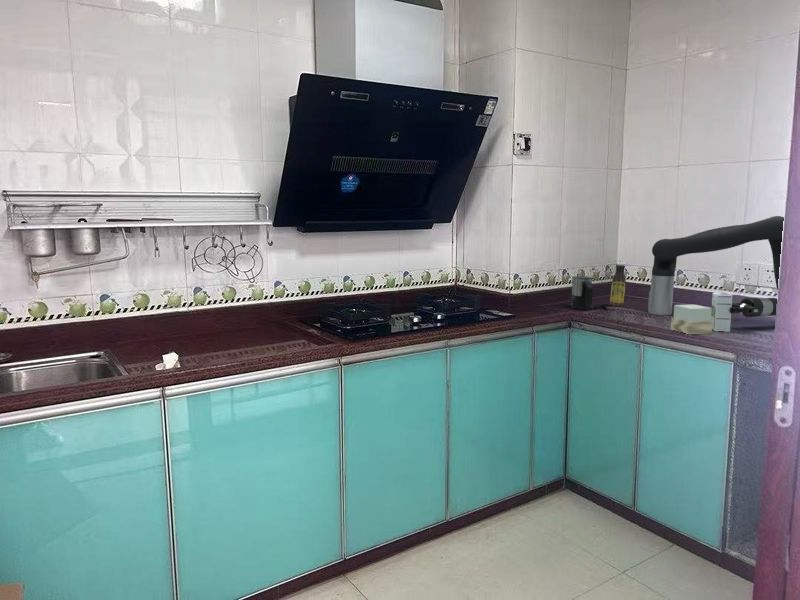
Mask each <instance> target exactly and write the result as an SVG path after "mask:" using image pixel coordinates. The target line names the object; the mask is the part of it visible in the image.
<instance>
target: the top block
mask: <svg viewBox="0 0 800 600" xmlns="http://www.w3.org/2000/svg"><path fill="white" fill-rule="evenodd" d="M711 309H712V307H708V306H703V305H699V304H674V306H673V318H676V319H680V320H683V321H687V322H707V321H711Z"/></svg>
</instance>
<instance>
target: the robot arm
mask: <svg viewBox="0 0 800 600" xmlns="http://www.w3.org/2000/svg"><path fill="white" fill-rule="evenodd" d="M784 218H785V217H784V216H780V215H775V216H770V217H767V218H765V219H761V220H758V221H755V222H750V223H747V224H745V223H743V224H736V225H735V224H734V225H729V226H722V227H716V228H713V229H712V228H711V229H707V230H704V231H700V232H698V233H694V234H691V235H688V236H684V237H677V238H663V239H659V240H657V241H656V242H655V243H654V244H653V246H652V248H651V253H652V255H653V257H654V258H653V266H652V268H651V269H652V270H651V277H650V278H651V279H650V280H651V282H650V283H651V284H650V291H648V301H647V302H648V303H647V304H648V306H647V312H648V314H650V315H654V316H671V315H672V313H673V312H672V311H673V302H674V301H673V300H674V299H673V298H674V286H675V285H674V284H675V273H676V268H677V259H678V257H680V256H684V255H685V256H686V255H691V254H700V253H701V254H702V253H710V252H717V251H723V250H726V249H728V250H729V249H733V248H736V247H739V246H741V245H745V244H747V243H750V242H756V241H765V240H766V241H767V240H768V242H769V246H770V249H771V254H772V255H771V256H772V265H773V273H774V280H775V286H776V290H777V289H778V279H779V267H780V254H781V242H782V231H783V221H784ZM776 304H777V297H744V298H743V299H742V300H741V301H739V302H738V301H736V302H734V301H732V307H730V313H731V314H740V315H742V316H743V317H745V318H757V317H758V318H759V317H761V318H763V317H767V316H768V317H771V316H777V315H776Z"/></svg>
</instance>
